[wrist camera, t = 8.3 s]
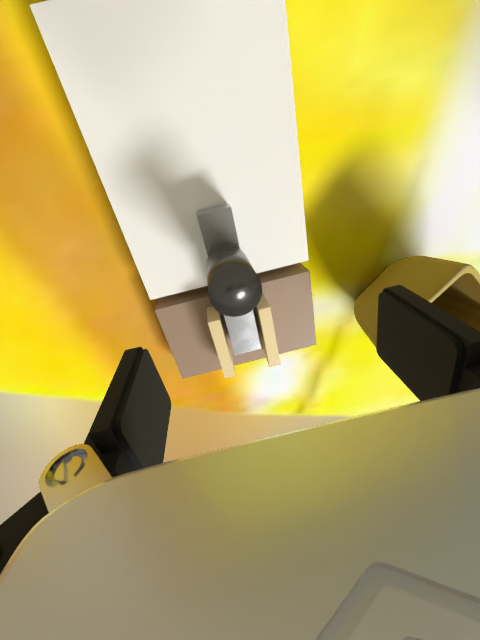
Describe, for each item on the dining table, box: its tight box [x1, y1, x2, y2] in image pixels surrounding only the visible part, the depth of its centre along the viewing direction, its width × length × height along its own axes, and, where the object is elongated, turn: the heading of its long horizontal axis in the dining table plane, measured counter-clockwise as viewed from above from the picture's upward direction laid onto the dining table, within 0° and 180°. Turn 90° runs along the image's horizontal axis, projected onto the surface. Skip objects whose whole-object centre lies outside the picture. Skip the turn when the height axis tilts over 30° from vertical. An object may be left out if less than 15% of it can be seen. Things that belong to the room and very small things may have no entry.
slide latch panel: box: [29, 0, 316, 379], centre depth 22 cm, size 14×27×6 cm, turn 12°
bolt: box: [197, 203, 262, 355], centre depth 21 cm, size 3×12×7 cm, turn 12°
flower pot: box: [354, 256, 480, 347], centre depth 26 cm, size 9×9×9 cm
